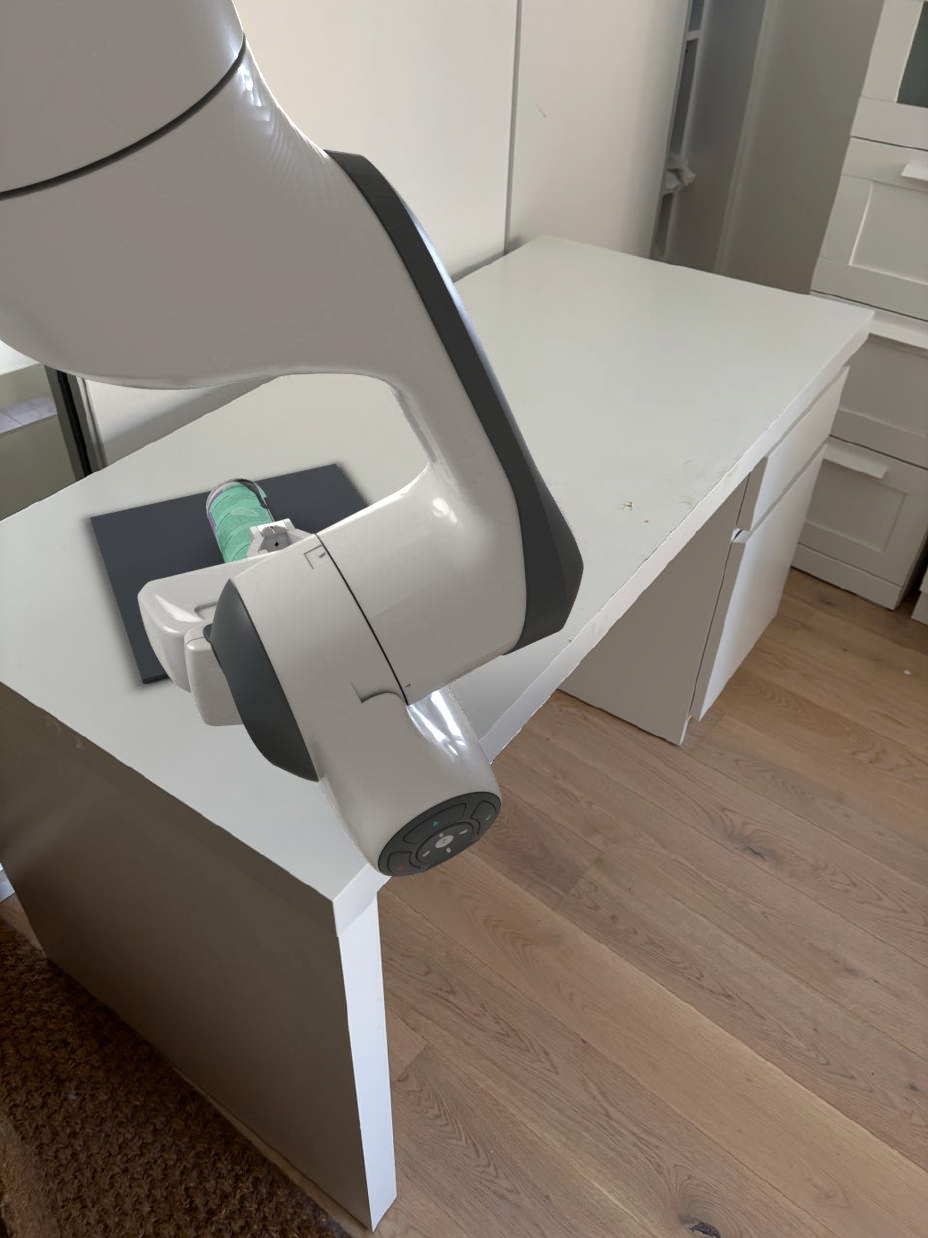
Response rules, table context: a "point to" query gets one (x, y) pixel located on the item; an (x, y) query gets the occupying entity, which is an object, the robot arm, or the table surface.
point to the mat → (202, 540)
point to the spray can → (237, 515)
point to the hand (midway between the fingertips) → (269, 530)
